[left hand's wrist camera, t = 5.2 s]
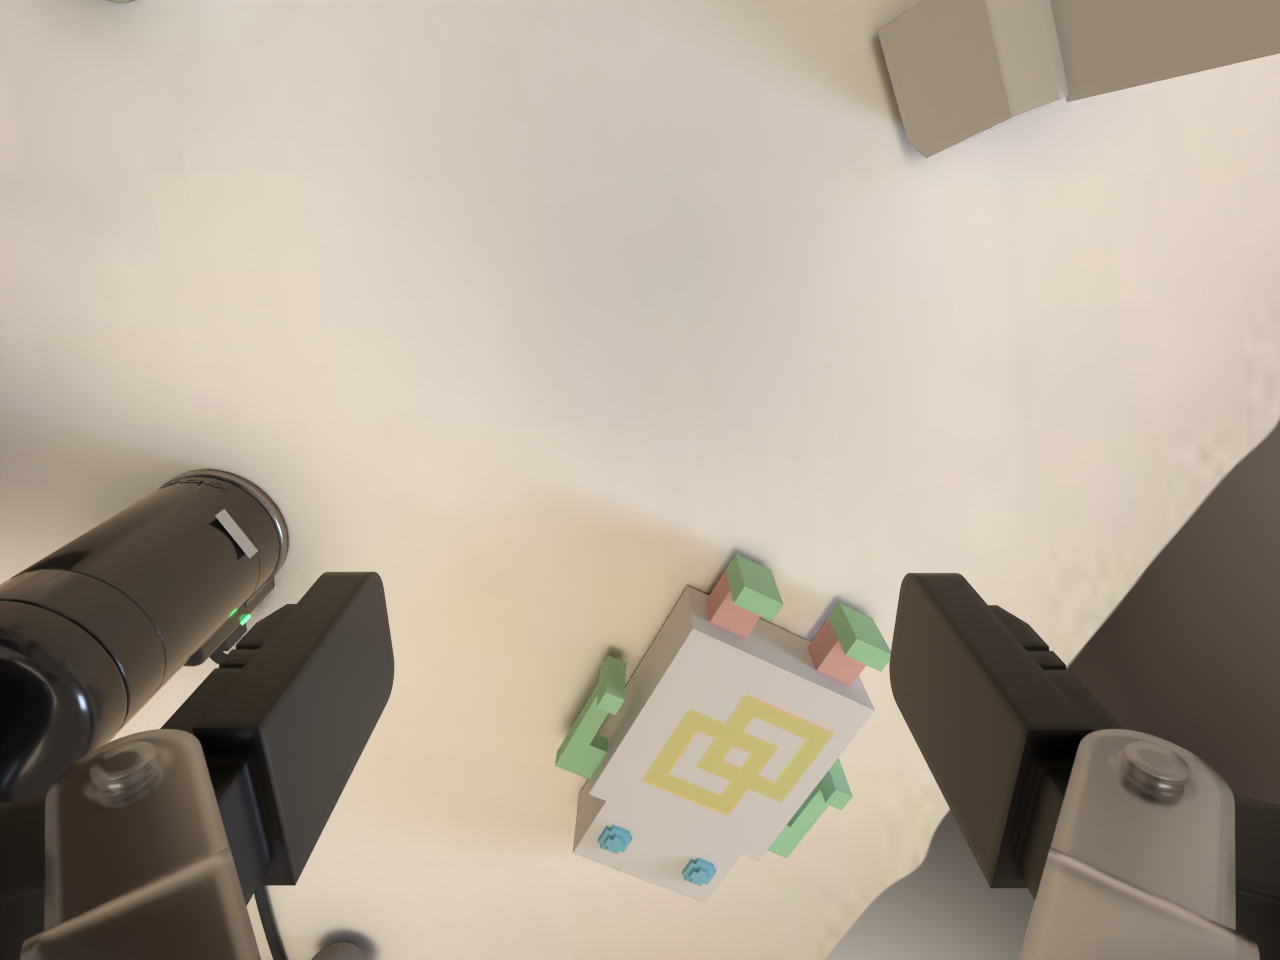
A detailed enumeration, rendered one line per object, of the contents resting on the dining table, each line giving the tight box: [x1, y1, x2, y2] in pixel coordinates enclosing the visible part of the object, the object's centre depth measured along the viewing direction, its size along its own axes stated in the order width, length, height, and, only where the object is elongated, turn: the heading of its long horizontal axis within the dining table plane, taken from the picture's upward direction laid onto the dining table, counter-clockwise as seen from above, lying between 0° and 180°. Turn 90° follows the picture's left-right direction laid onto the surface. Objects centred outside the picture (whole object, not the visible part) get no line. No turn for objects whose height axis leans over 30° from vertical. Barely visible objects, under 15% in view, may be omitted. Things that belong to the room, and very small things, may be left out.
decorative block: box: [555, 554, 891, 903], centre depth 54 cm, size 26×6×20 cm
